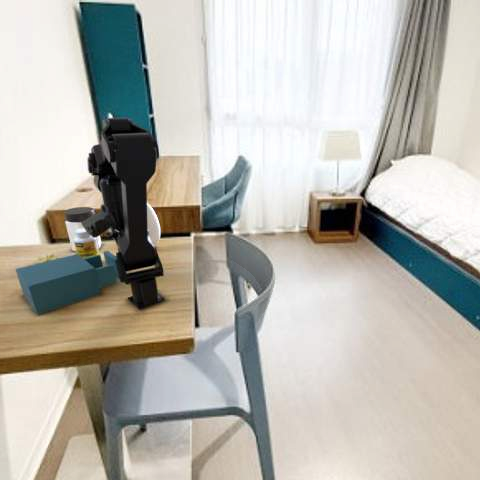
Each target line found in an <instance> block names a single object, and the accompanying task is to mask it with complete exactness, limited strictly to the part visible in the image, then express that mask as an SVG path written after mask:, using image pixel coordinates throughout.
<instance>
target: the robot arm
mask: <svg viewBox="0 0 480 480" xmlns="http://www.w3.org/2000/svg"><path fill="white" fill-rule="evenodd" d="M102 126H103V127H102V128H103V129H102V130H101V131H100V135H101V139H100V143H98V144H94V145H93V146H92V147H91V149H90V152H88V156H87V158H86V159H87V162H86V163H87V171H88V174H90V176H92V177H93V184H94V187H95V189H97V190H98V191H99V192H100V193H101V198H102V202H103V204H100V206H99V208H100V211H99V212H98V213H95V215H93V216H91V217H90V218H88V219H86V220H84V221H83V222H82V223H81V224H82V226H83V227H84V229H85V230H86V232H87V233H88V234H89V235H91V236H92V237H93V238H95V237H98V236H100V237H101V235H102V234H103V233H105V236H108V237H109V238H111V239H112V240H113V241H114V243H115V244H116V246H117V252H115V256H116V258H115V263H116V267H117V270H118V274H119V278H120V279H119V282H120V283H121V284H122V283H123V284H125V285H126V286H128V285H130V290H131V296H129V297H127V301H128V302H130V304H132V305H133V306H135V308H136V309H138V310H143V309H146V308H149V307H151V306H154V305H156V304H159V303H162V302H164V301H165V302H166V298H165V297H164V296H163V295H162V294H160V293H159V290H158V289H159V288H158V283H157V278H160V277H164V276H165V275H164V274H165V273H164V272H165V271H164V267H163V264H162V260H161V259H160V255H159V253H158V249H157V248H156V245H155V246H154V245H153V243H152V241H151V239H150V237H149V231H148V226H147V203H148V182H149V181H150V180H151V179H152V178H153V176H154V175H155V174H156V171H157V170H156V169H157V160H159V157H160V150H159V149H160V148H159V145H158V141H156V138H155V137H154V136H153V135H152V133H151V132H150V130H148V129H146V128H144V127H142V126H140V125H138V124H136V123H135V122H134V121H133V119H132V118H128V117H107V118H105V119H103V120H102ZM136 270H137V271H136ZM127 272H128V273H127ZM126 273H127V274H126Z"/></svg>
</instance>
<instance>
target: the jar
mask: <svg viewBox="0 0 480 480" xmlns="http://www.w3.org/2000/svg"><path fill="white" fill-rule="evenodd" d="M63 214H64V219H65V227H66V231H67V235H68V240H69V242H70V243H69V244H70V248H71V251H73V252H76V248H75V244H74V238H75V237H76V234H75V231H76V230H77V229H81V228H84V227H83V226H82V224H81V223H82V222H83V221H84V220H86V219H88V218H90V217H91V216H93V215H95V214H96V212H95V209H94V208H93V207H90V206H78V207H76V206H75V207H72V208H68V209H66V210H64V211H63ZM96 240H97V245H98V250H99V249H101V246H102V238H101V235H100V236H98V237H96Z"/></svg>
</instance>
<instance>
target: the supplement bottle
mask: <svg viewBox="0 0 480 480" xmlns="http://www.w3.org/2000/svg"><path fill="white" fill-rule="evenodd" d="M75 234H76V237H75V238H74V244H75V248H76V251H75V252H76V254H78V255H80V256H81V257H82V258H83V259H84V258H87V257H91V256H95V255H100V250H99V249H98V245H97V240H96V237H95V238H93V237H92V236H91V235H89V234H88V233H87V232H86V230H85V229H84V228H81V229H77V230H76V231H75Z"/></svg>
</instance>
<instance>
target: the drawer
mask: <svg viewBox="0 0 480 480" xmlns="http://www.w3.org/2000/svg"><path fill="white" fill-rule="evenodd" d="M102 252H103V256H104V263H105V265H103V261H102V256H101V254H99V255H95V256H91V257H87V258H84V260H86V261H87V262H88V263H89V264H91V265H92V266H93V267H94V268H95V271H96V276H97V280H98V285H99V289H100V288H103V287H106V286H109V285H112V284H116V283H117V282H118V281H117V279H118V280H120V278H119V274H118V270H117V267H116V263H115V258H116V254H114V253H112V252H111V251H109V250H104V251H102ZM126 274H127V272H126Z"/></svg>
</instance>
